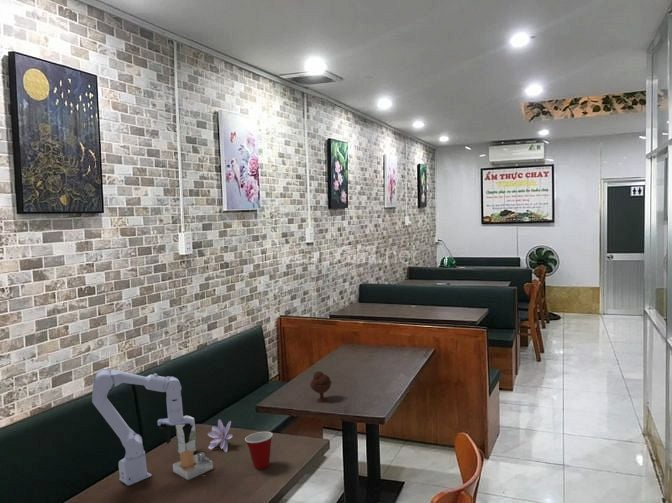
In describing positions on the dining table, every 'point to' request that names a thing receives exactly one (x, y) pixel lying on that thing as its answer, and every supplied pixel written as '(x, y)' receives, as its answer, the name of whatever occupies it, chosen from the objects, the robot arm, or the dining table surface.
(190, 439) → the syrup box
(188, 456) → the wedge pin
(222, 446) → the water lily
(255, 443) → the plastic cup
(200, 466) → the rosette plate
